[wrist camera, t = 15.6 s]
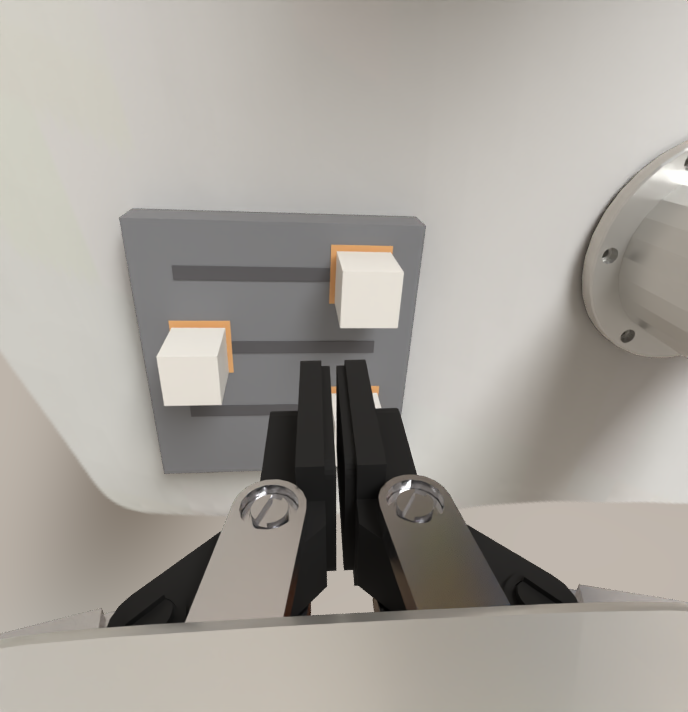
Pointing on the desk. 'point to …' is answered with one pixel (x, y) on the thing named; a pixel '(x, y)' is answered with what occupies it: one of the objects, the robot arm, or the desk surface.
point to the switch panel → (259, 316)
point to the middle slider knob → (193, 366)
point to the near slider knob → (368, 289)
